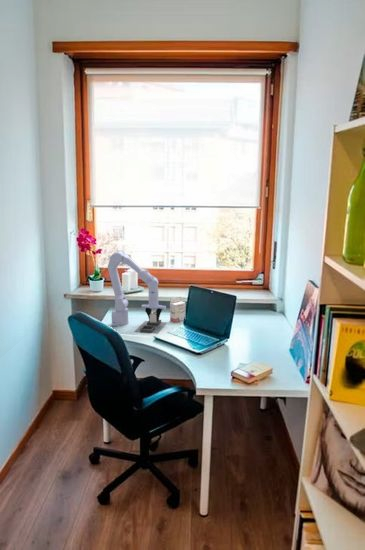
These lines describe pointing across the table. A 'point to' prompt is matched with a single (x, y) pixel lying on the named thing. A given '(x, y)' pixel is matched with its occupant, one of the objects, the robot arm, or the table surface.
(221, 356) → the table surface
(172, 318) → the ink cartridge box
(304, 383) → the table surface
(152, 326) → the panel
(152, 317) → the plug
